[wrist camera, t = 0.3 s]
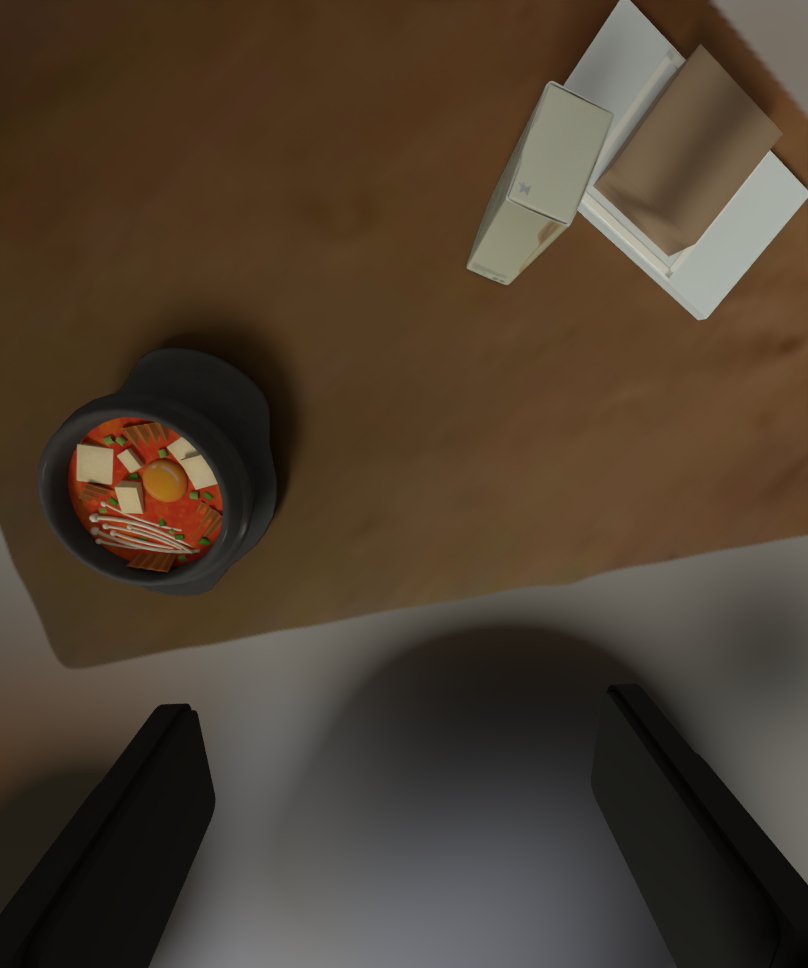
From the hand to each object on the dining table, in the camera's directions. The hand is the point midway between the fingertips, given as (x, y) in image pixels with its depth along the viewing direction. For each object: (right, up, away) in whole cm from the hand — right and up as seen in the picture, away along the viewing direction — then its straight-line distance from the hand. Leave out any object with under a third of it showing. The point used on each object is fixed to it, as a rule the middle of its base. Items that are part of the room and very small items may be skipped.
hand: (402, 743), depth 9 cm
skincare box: (+9, +27, +24) cm, 38 cm away
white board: (+22, +32, +23) cm, 45 cm away
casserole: (-22, +7, +29) cm, 37 cm away
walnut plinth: (+22, +32, +23) cm, 45 cm away
